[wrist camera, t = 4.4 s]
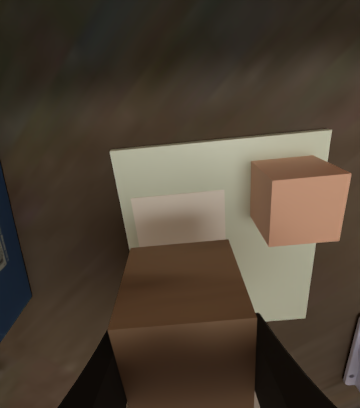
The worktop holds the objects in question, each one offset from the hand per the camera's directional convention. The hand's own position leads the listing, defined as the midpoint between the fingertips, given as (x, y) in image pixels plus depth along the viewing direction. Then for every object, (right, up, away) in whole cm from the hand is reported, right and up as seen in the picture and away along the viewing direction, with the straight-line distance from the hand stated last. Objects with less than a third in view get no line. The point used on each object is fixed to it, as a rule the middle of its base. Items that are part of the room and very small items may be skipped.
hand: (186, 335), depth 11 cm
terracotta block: (+7, +7, +6) cm, 11 cm away
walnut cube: (0, +1, +3) cm, 3 cm away
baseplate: (+3, +3, +9) cm, 10 cm away
